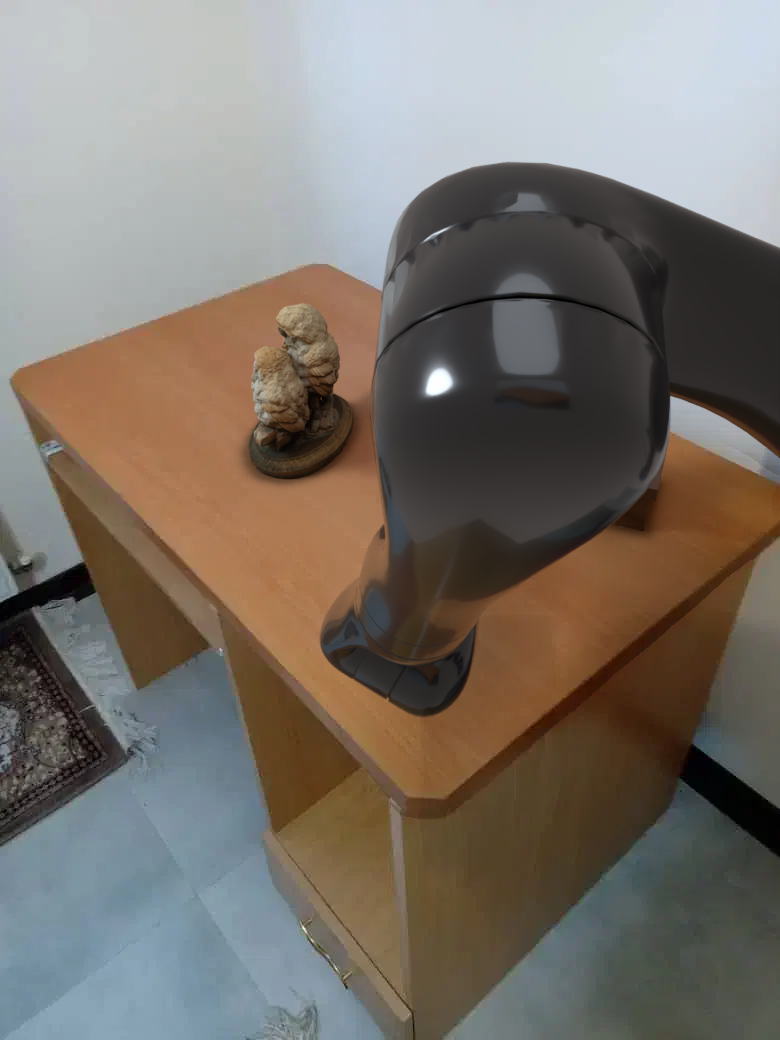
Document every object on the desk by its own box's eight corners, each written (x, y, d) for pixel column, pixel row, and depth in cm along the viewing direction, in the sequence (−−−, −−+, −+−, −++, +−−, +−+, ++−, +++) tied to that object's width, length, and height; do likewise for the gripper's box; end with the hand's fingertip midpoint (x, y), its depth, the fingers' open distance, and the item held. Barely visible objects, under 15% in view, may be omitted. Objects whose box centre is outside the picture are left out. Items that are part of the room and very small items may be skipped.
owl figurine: (284, 391, 105) (265, 268, 94) (369, 400, 103) (360, 275, 91) (230, 473, 92) (201, 341, 81) (326, 485, 90) (309, 351, 78)
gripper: (577, 489, 59) (631, 383, 70) (407, 445, 65) (481, 353, 75) (566, 561, 64) (618, 452, 75) (409, 514, 70) (479, 419, 80)
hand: (549, 402), depth 75 cm, fingers open, 8 cm apart
